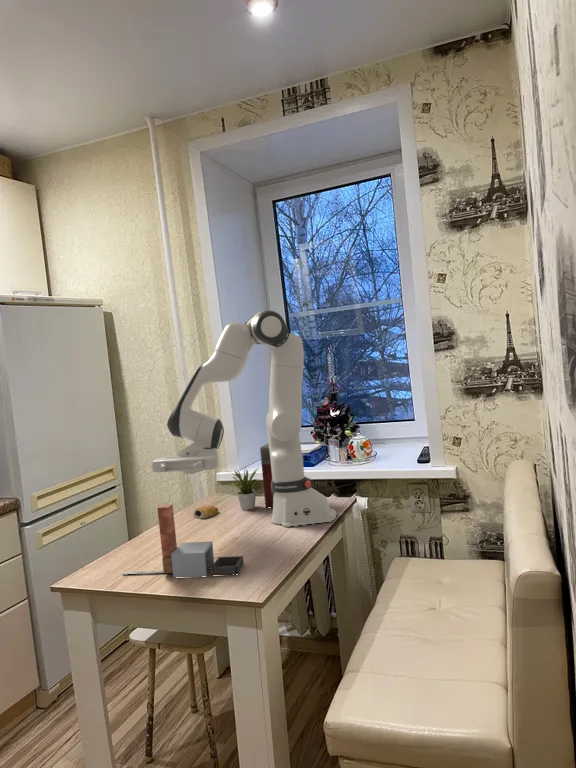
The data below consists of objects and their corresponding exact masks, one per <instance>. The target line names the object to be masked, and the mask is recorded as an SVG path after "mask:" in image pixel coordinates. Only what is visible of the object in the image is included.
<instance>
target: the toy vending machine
mask: <svg viewBox="0 0 576 768" xmlns="http://www.w3.org/2000/svg"><path fill="white" fill-rule="evenodd" d="M259 450H260V461H261V472H262V483H263V493H264V505H265V509H266V508H268V507H271V508H273V495H272V488H271V480H272V470H271V460H270V451H269V443H266V444H264V445H262V446H260V448H259Z"/></svg>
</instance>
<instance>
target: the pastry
mask: <svg viewBox="0 0 576 768" xmlns="http://www.w3.org/2000/svg"><path fill="white" fill-rule="evenodd" d="M218 513H219V509H218V507H217V506H213V505H211V506H210V505H206V506H205V505H202V506H200V507H197V508H194V511H193V514H192V516H193V518H194V519H201V520H203V519H208V518H209V517H213V516H216V515H217V514H218Z"/></svg>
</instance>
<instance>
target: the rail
mask: <svg viewBox="0 0 576 768" xmlns="http://www.w3.org/2000/svg"><path fill="white" fill-rule="evenodd" d="M206 569H207V571H212V570H211V568H206ZM155 573H164V571H163V570H147V571H145V570H143V571H124V572H123V573H122V576H129V575H128V574H148V575H156V574H155Z"/></svg>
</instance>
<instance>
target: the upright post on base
mask: <svg viewBox="0 0 576 768" xmlns="http://www.w3.org/2000/svg"><path fill="white" fill-rule="evenodd" d="M157 517H158V519H157V520H158V527H159V535H160V536H159V537H160V545H161V556H162V558H161V560H162V569H163V570H162V571H164V573H173V567H172V557H171V554H172V553H173V552H174V550H175V549H176V548H177V547H178V544H177V535H176V526H175V517H174V507H173V503H169V504H168V503H167V504H160V505H159V506H158V507H157Z"/></svg>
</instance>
